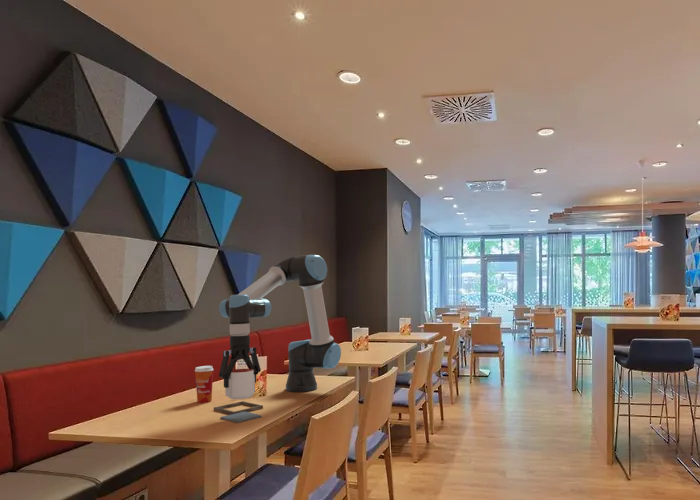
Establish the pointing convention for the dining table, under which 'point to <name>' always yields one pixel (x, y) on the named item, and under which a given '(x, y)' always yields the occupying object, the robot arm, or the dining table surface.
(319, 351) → the robot arm
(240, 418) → the coaster
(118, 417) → the dining table surface
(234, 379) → the cup
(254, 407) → the frame
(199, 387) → the coffee cup
